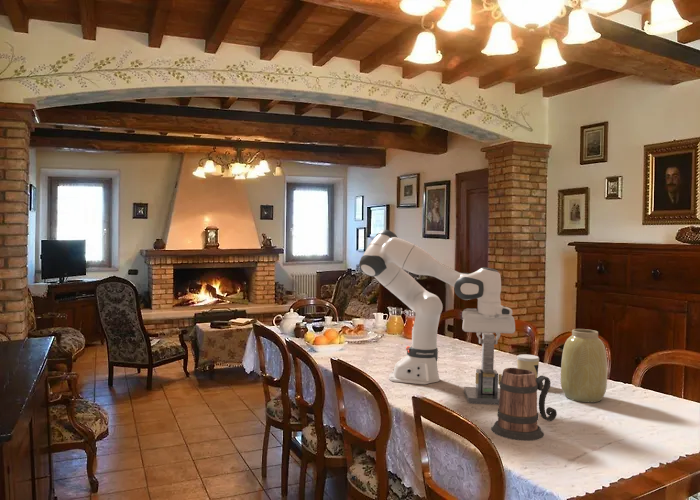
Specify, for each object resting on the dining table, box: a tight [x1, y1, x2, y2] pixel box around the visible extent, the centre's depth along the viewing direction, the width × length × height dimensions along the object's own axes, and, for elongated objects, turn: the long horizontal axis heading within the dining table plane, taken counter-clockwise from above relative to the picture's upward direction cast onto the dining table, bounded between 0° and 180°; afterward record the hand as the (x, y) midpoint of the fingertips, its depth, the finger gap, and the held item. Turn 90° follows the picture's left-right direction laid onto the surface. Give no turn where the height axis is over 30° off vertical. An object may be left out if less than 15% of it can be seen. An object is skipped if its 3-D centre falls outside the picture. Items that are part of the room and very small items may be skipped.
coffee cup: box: [516, 353, 540, 379], centre depth 246 cm, size 9×9×12 cm
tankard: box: [490, 367, 558, 442], centre depth 187 cm, size 24×17×20 cm
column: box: [481, 332, 496, 394], centre depth 223 cm, size 4×6×23 cm, turn 175°
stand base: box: [463, 368, 503, 406], centre depth 223 cm, size 16×16×11 cm
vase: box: [560, 328, 608, 403], centre depth 226 cm, size 17×17×27 cm
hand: (488, 343), depth 223 cm, fingers closed on column, 4 cm apart
